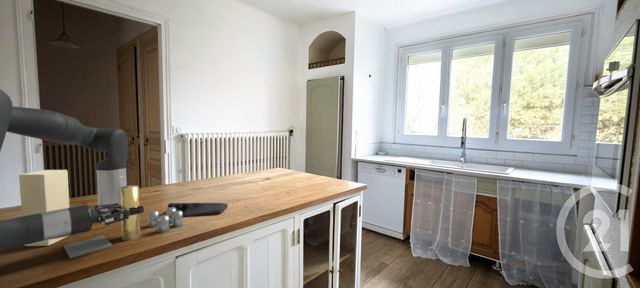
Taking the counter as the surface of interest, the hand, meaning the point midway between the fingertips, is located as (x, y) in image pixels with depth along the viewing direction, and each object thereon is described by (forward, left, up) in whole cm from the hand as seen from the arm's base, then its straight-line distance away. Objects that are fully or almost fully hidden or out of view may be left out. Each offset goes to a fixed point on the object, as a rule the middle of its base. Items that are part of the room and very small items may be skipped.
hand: (140, 207), depth 84 cm
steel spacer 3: (-4, +11, -9) cm, 14 cm away
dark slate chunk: (-9, +23, -10) cm, 27 cm away
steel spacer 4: (+1, +11, -9) cm, 14 cm away
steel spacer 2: (+2, +6, -9) cm, 11 cm away
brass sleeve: (0, -3, -9) cm, 9 cm away
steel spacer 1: (-5, +5, -9) cm, 12 cm away
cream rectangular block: (-16, -20, -9) cm, 27 cm away
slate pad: (-2, -13, -9) cm, 16 cm away
